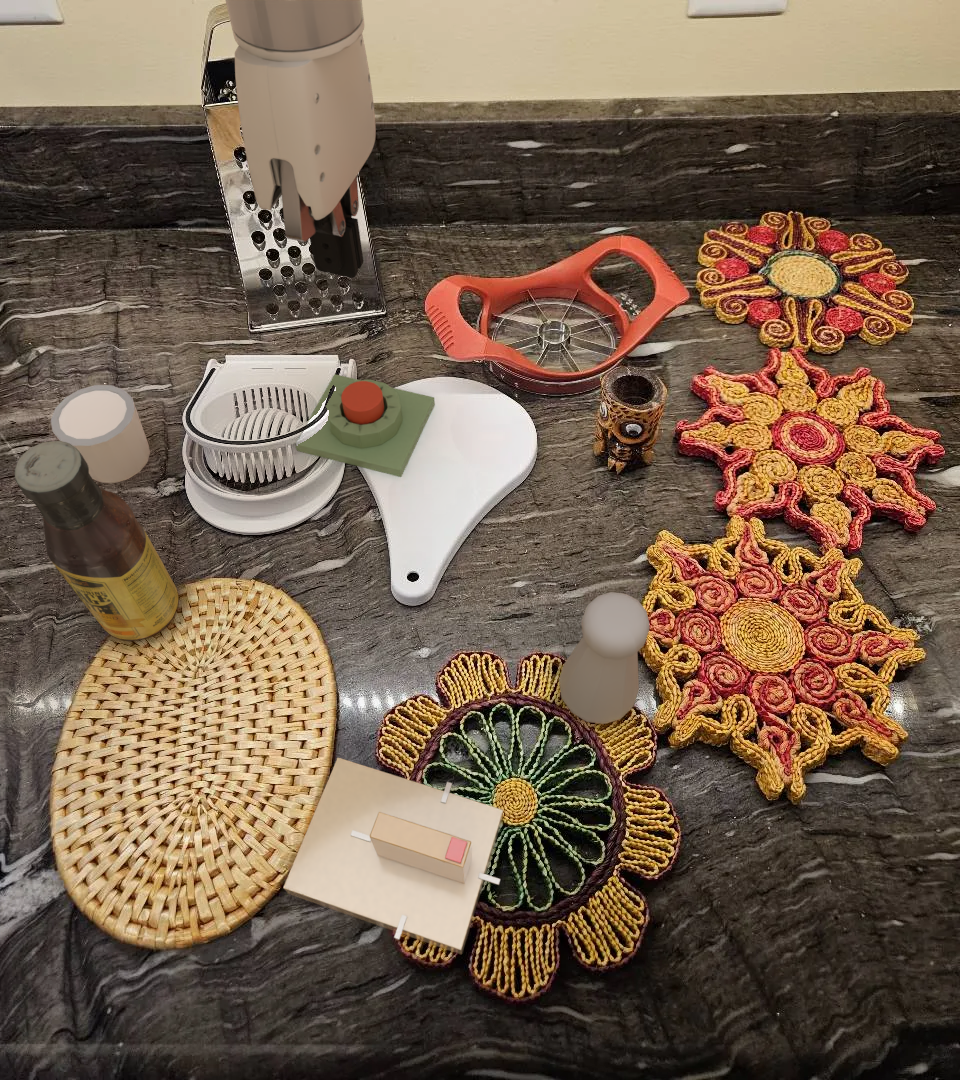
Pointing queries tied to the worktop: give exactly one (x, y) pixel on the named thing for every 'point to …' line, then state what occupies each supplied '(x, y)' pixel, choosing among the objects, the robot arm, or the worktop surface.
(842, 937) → the worktop surface
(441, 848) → the tap handle
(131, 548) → the sauce bottle
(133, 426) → the beige grey-rimmed cylinder
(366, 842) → the block
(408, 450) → the button block
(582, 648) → the salt shaker
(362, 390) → the button
